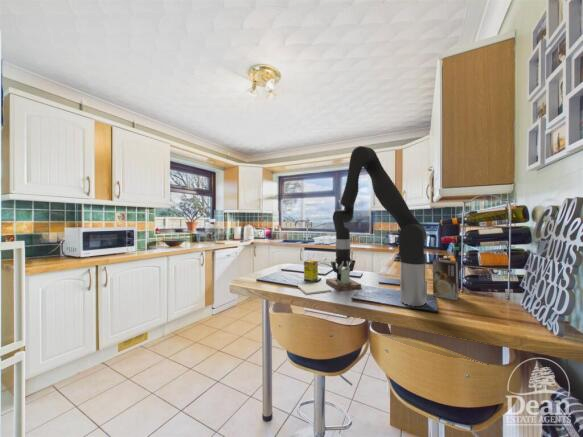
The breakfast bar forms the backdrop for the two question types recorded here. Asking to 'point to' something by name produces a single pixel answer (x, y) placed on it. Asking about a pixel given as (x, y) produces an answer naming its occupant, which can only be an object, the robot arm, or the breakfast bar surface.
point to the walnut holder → (342, 287)
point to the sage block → (344, 276)
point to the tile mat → (313, 288)
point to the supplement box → (310, 270)
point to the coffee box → (445, 279)
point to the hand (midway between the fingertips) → (343, 279)
